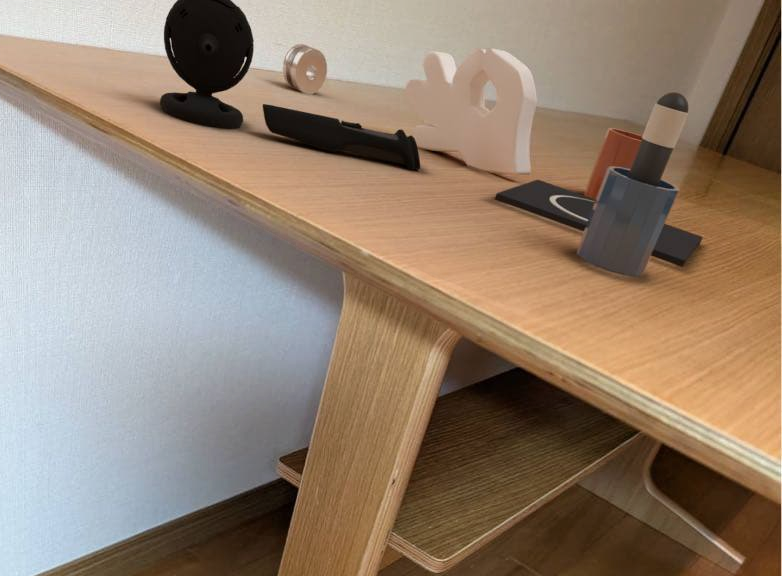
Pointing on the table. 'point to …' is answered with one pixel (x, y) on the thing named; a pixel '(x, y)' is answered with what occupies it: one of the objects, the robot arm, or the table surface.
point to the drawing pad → (578, 209)
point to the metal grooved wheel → (305, 68)
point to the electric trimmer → (341, 136)
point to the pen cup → (626, 222)
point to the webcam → (207, 59)
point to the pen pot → (613, 157)
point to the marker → (659, 138)
